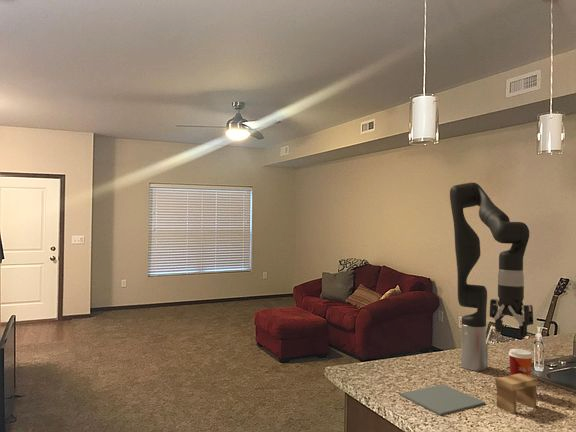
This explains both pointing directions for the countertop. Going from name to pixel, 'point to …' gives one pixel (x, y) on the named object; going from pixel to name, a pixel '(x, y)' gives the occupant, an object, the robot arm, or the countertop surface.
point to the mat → (442, 399)
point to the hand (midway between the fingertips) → (510, 334)
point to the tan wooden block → (516, 391)
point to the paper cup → (520, 361)
